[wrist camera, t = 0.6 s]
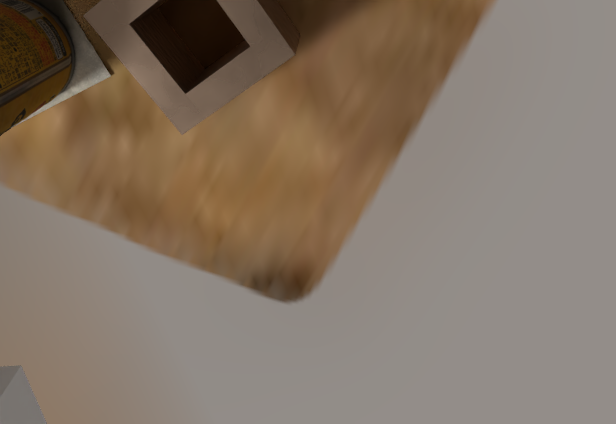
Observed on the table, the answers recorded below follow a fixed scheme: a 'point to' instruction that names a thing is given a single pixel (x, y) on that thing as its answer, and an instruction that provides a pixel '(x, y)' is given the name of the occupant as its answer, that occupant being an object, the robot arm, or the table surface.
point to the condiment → (42, 59)
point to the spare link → (181, 61)
